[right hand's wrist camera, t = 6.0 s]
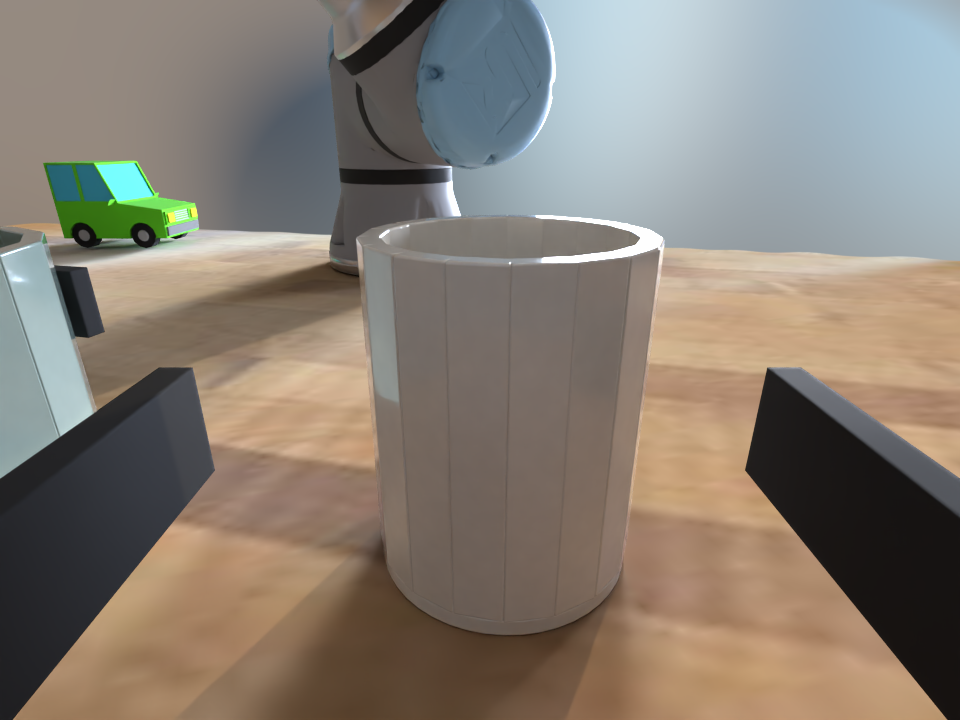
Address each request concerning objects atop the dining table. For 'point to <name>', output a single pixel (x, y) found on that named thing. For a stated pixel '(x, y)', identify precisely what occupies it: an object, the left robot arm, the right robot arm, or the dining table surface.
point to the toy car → (114, 204)
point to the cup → (507, 409)
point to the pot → (35, 352)
